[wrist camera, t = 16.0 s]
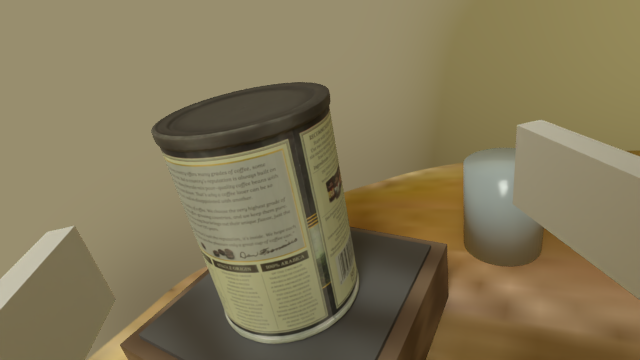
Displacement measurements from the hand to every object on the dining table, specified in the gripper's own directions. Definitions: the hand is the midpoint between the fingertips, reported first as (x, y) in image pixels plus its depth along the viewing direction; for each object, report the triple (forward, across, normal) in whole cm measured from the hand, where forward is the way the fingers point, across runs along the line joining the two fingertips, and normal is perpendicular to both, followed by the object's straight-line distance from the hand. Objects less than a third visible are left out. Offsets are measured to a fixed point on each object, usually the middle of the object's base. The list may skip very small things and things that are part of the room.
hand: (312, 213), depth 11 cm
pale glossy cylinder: (+18, +18, -19) cm, 32 cm away
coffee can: (+12, -3, -13) cm, 18 cm away
